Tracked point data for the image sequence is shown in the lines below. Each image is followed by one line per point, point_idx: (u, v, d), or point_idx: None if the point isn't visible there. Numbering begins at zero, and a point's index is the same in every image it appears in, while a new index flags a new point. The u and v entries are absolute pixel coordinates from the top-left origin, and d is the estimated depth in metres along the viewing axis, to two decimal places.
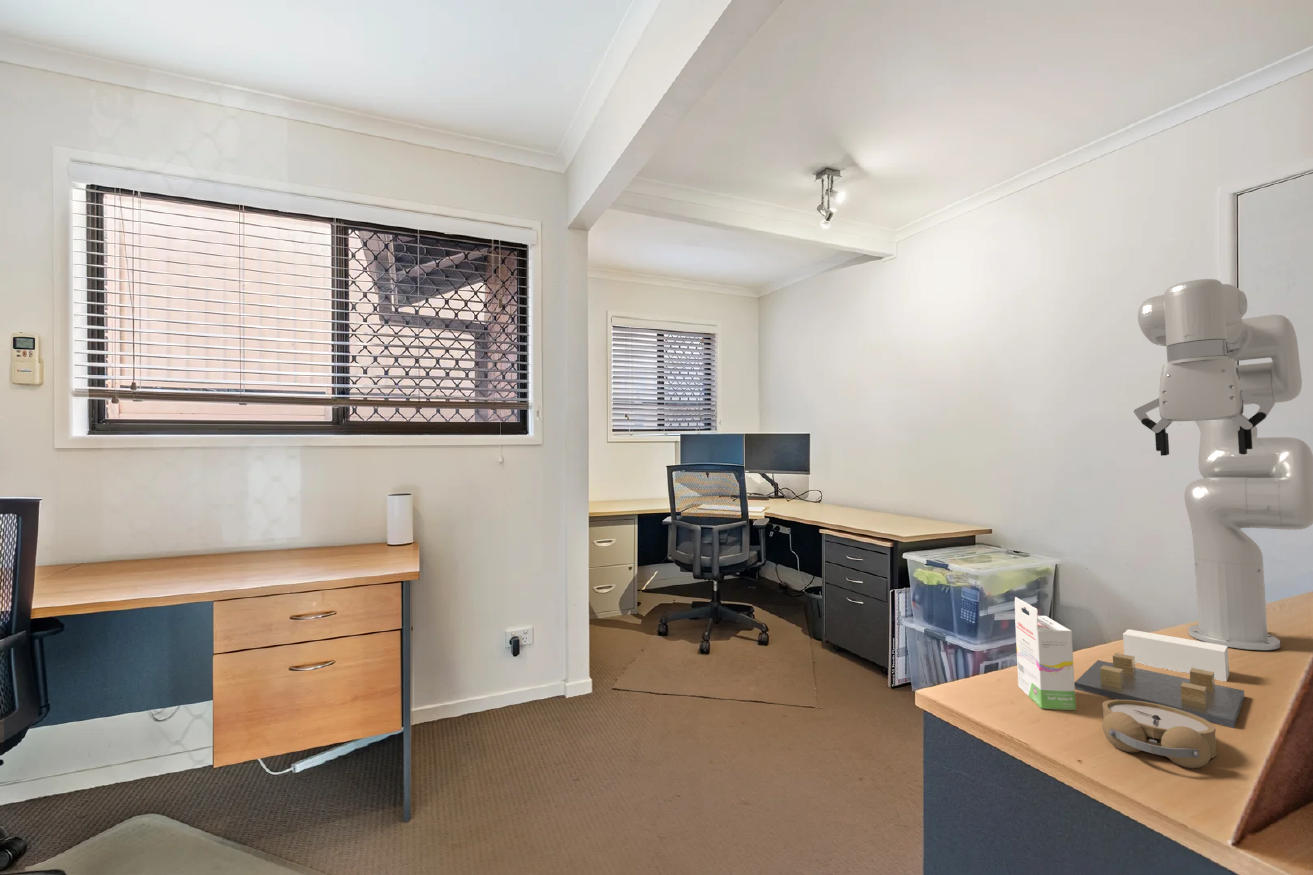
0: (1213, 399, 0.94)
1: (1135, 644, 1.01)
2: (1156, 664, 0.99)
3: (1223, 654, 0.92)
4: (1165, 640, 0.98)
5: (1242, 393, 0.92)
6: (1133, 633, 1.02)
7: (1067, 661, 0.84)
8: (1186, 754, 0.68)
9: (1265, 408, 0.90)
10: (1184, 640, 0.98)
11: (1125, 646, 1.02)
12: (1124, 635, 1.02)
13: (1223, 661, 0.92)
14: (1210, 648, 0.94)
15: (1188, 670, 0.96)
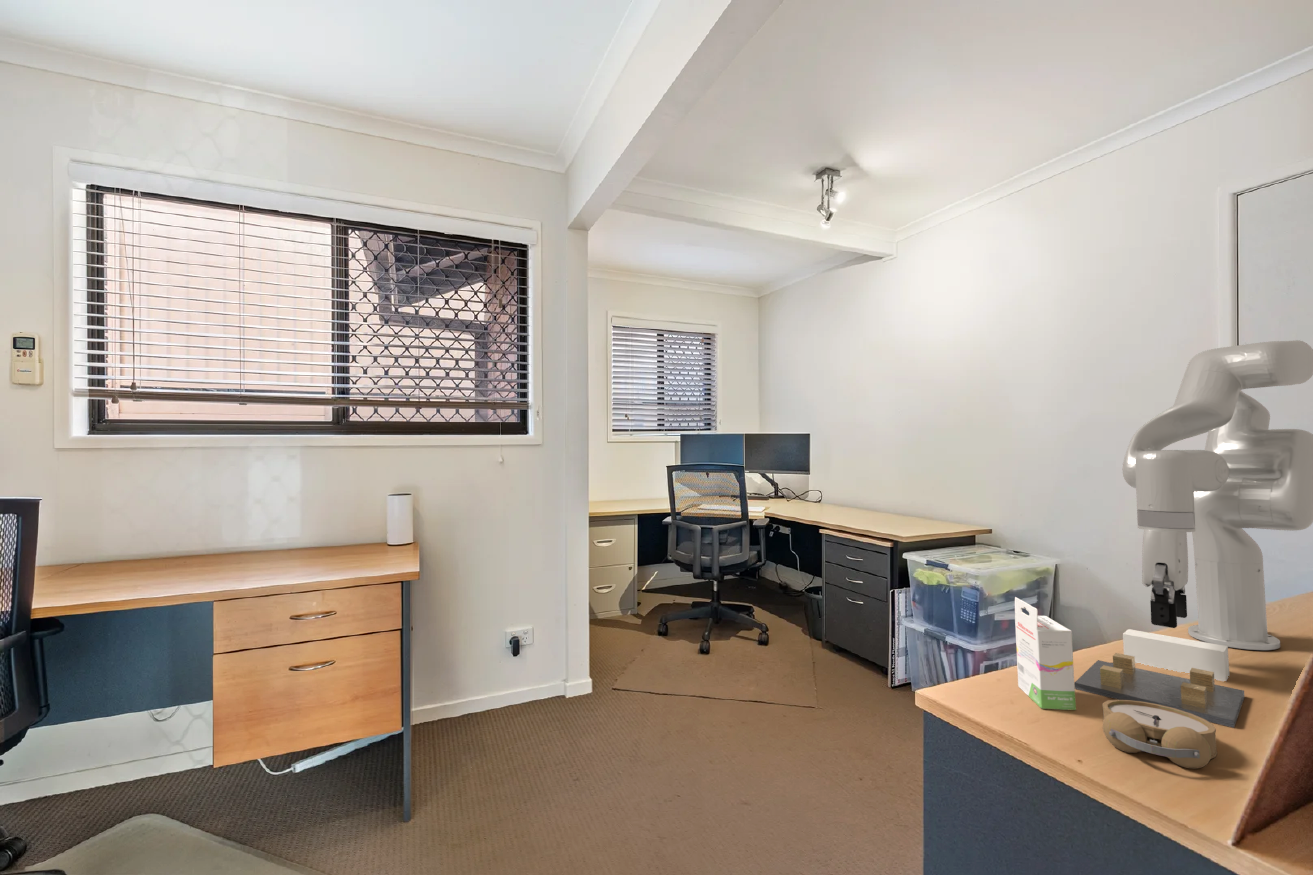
0: (1187, 568, 0.98)
1: (1135, 643, 1.01)
2: (1156, 664, 0.99)
3: (1223, 654, 0.92)
4: (1165, 640, 0.98)
5: None
6: (1133, 633, 1.02)
7: (1067, 661, 0.84)
8: (1187, 754, 0.67)
9: None
10: (1184, 640, 0.98)
11: (1125, 646, 1.02)
12: (1124, 635, 1.02)
13: (1223, 661, 0.92)
14: (1210, 648, 0.94)
15: (1188, 670, 0.96)
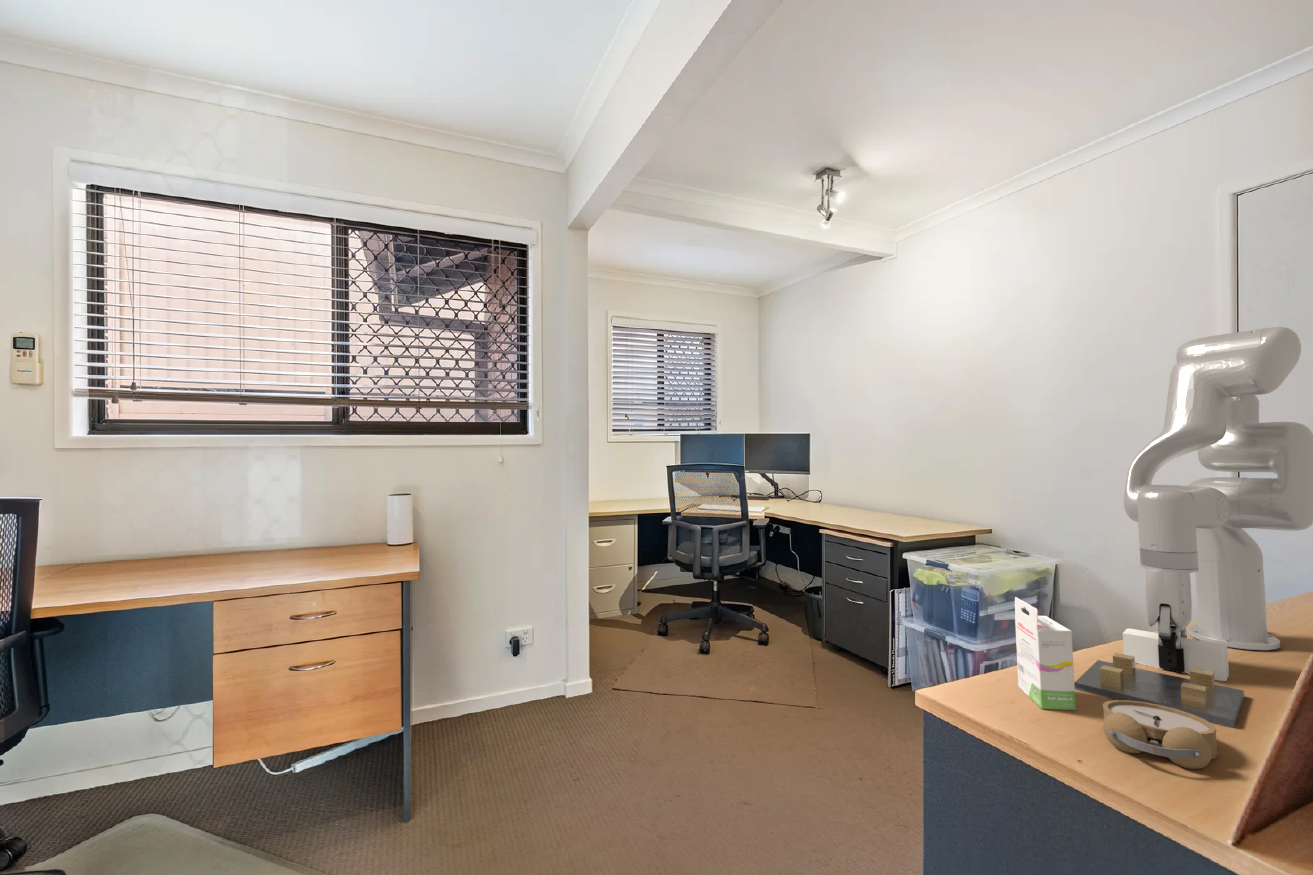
0: (1191, 606, 0.98)
1: (1135, 642, 1.01)
2: (1156, 663, 0.99)
3: (1223, 653, 0.92)
4: None
5: None
6: (1133, 632, 1.02)
7: (1068, 661, 0.84)
8: (1188, 755, 0.67)
9: None
10: (1184, 639, 0.98)
11: (1125, 645, 1.02)
12: (1124, 634, 1.02)
13: (1223, 660, 0.92)
14: (1210, 647, 0.94)
15: (1188, 669, 0.96)
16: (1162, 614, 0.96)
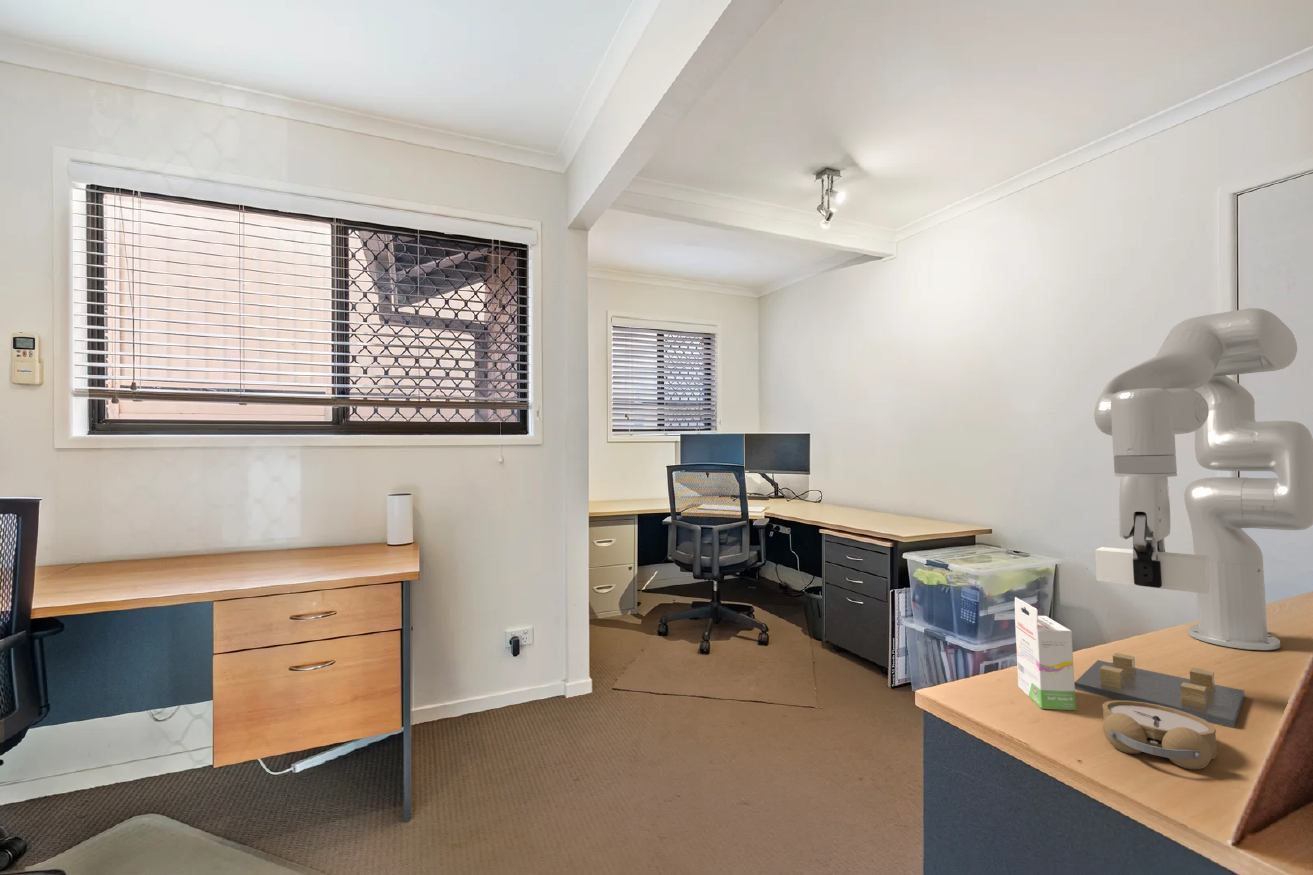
0: (1169, 517, 0.89)
1: (1108, 559, 0.92)
2: (1130, 580, 0.90)
3: (1203, 562, 0.83)
4: None
5: None
6: (1106, 549, 0.93)
7: (1067, 661, 0.84)
8: (1187, 755, 0.67)
9: None
10: (1161, 553, 0.89)
11: (1097, 563, 0.93)
12: (1096, 551, 0.93)
13: (1203, 570, 0.83)
14: (1189, 557, 0.85)
15: (1165, 583, 0.86)
16: (1137, 523, 0.87)
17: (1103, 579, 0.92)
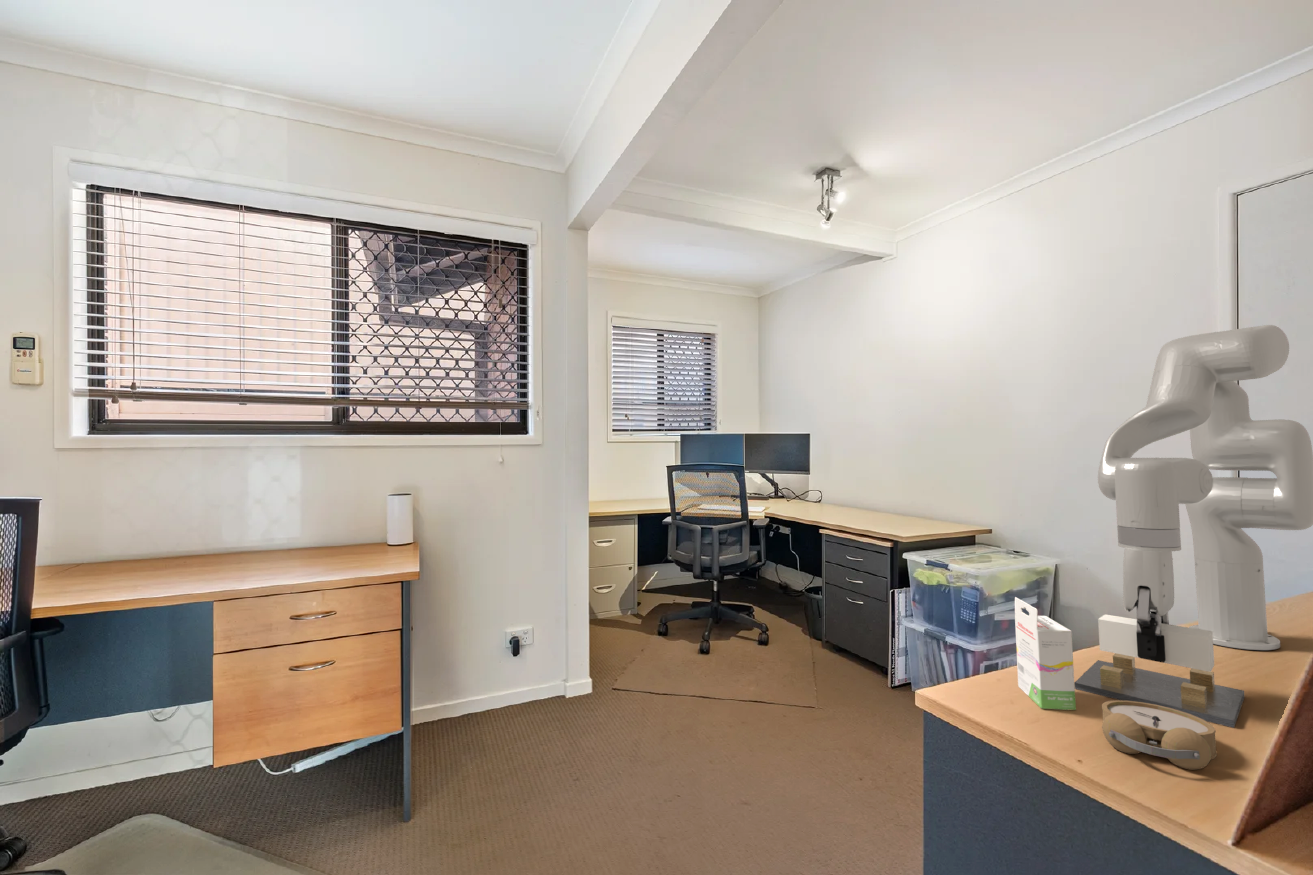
0: (1173, 589, 0.89)
1: (1112, 629, 0.91)
2: (1134, 652, 0.89)
3: (1207, 640, 0.83)
4: None
5: None
6: (1109, 618, 0.93)
7: (1067, 661, 0.84)
8: (1186, 756, 0.67)
9: None
10: (1165, 625, 0.89)
11: (1101, 632, 0.92)
12: (1099, 620, 0.93)
13: (1207, 647, 0.83)
14: (1193, 633, 0.84)
15: (1169, 658, 0.86)
16: (1140, 597, 0.86)
17: (1106, 649, 0.92)
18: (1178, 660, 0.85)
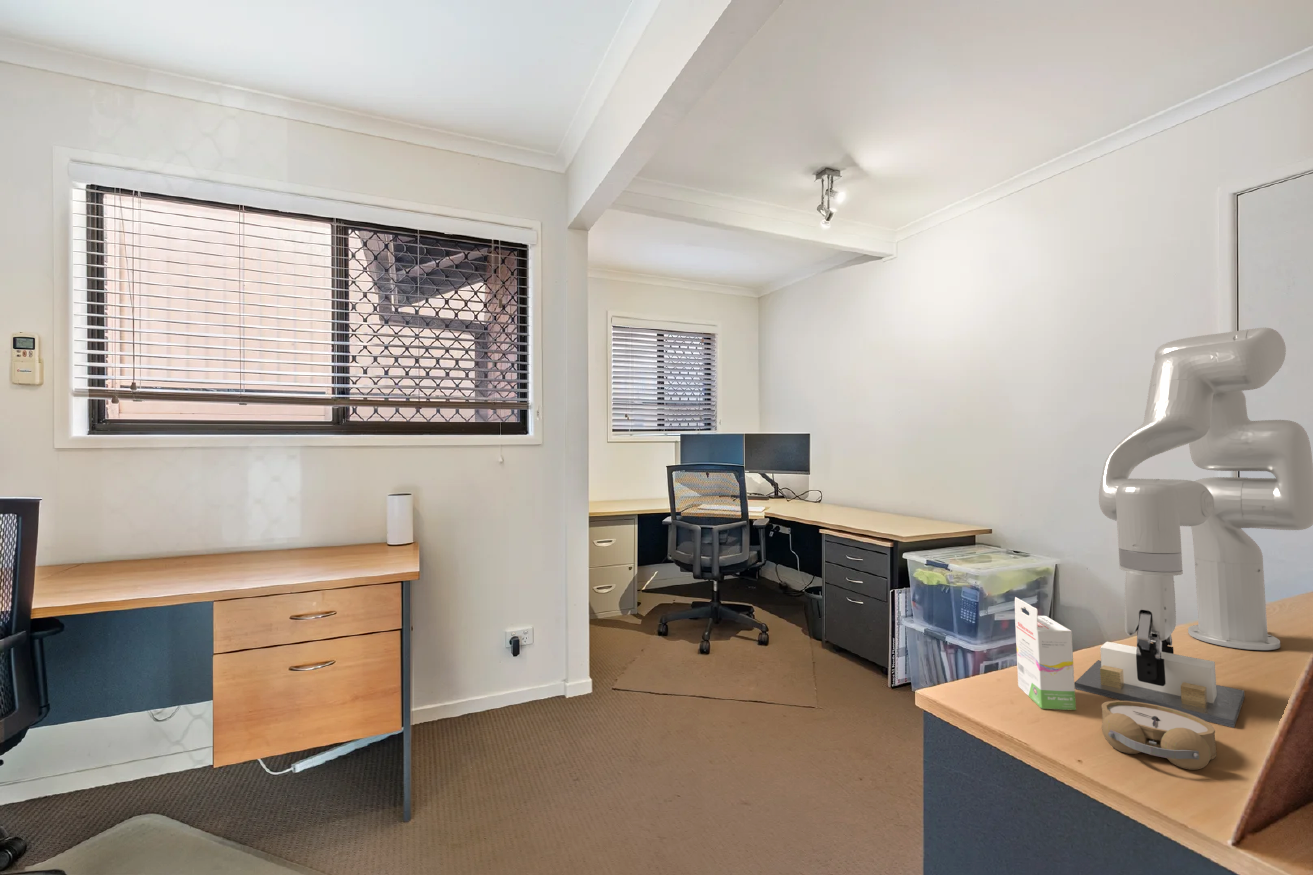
0: (1174, 612, 0.89)
1: (1114, 658, 0.91)
2: (1136, 681, 0.89)
3: (1210, 671, 0.83)
4: None
5: None
6: (1112, 646, 0.93)
7: (1068, 661, 0.84)
8: (1186, 756, 0.67)
9: None
10: (1167, 654, 0.88)
11: (1103, 661, 0.92)
12: (1102, 648, 0.92)
13: (1210, 679, 0.83)
14: (1195, 664, 0.84)
15: (1171, 688, 0.86)
16: None
17: None
18: None
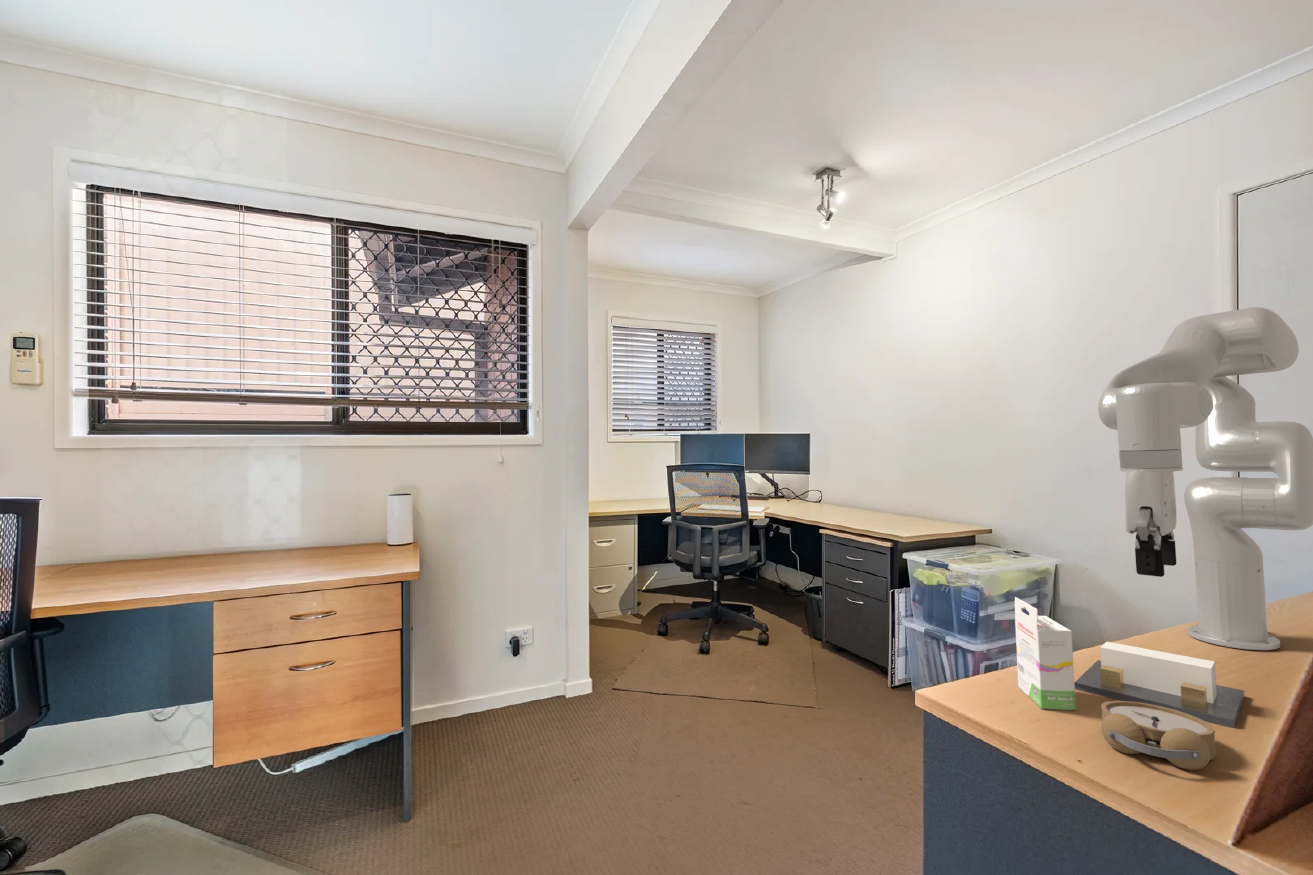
0: (1175, 511, 0.90)
1: (1114, 658, 0.91)
2: (1136, 681, 0.89)
3: (1210, 671, 0.83)
4: (1146, 654, 0.89)
5: None
6: (1112, 646, 0.93)
7: (1068, 661, 0.84)
8: (1186, 756, 0.67)
9: None
10: (1167, 654, 0.88)
11: (1103, 661, 0.92)
12: (1102, 648, 0.92)
13: (1210, 679, 0.83)
14: (1195, 664, 0.84)
15: (1171, 688, 0.86)
16: None
17: None
18: None
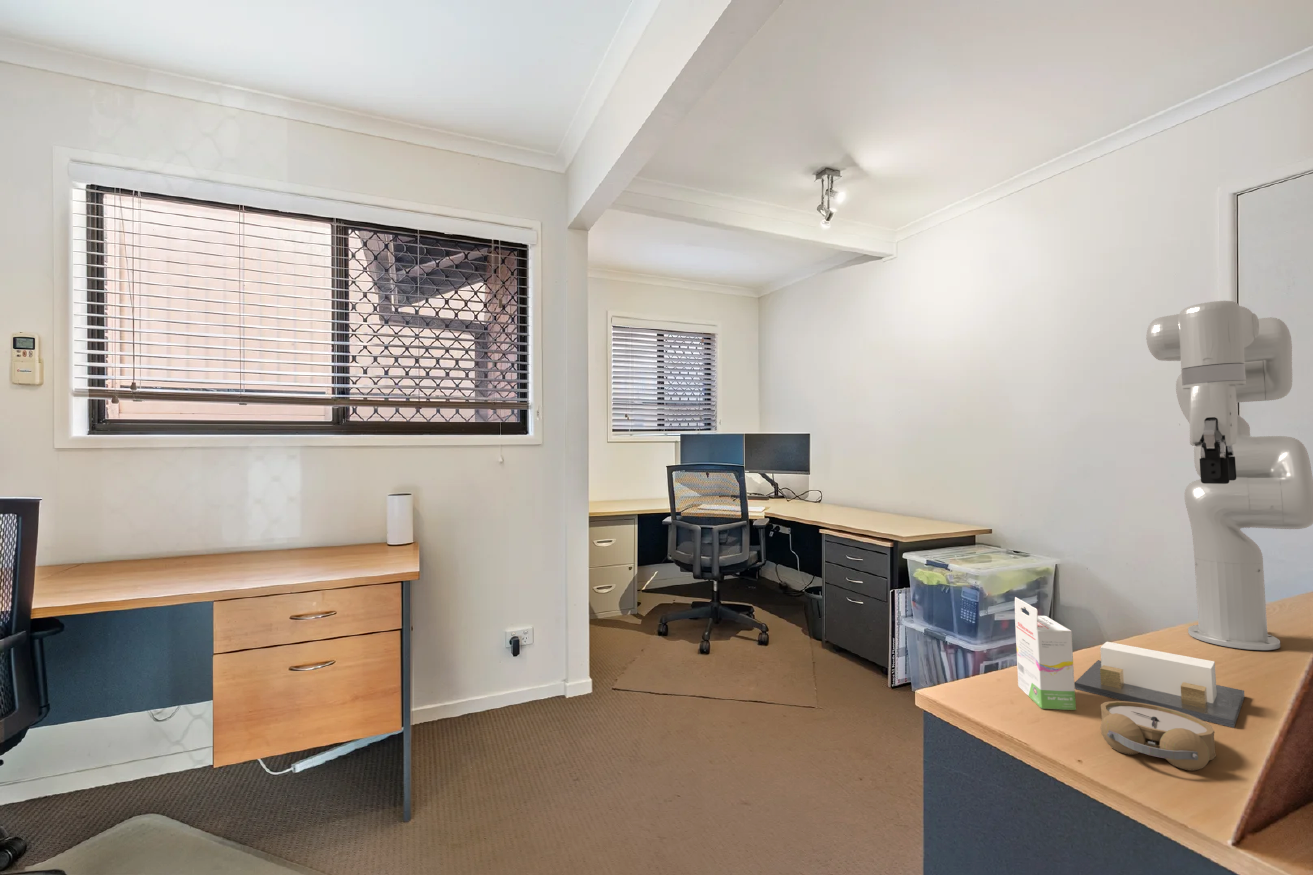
0: None
1: (1114, 658, 0.91)
2: (1136, 681, 0.89)
3: (1210, 671, 0.83)
4: (1146, 654, 0.89)
5: None
6: (1112, 646, 0.93)
7: (1067, 661, 0.84)
8: (1185, 756, 0.67)
9: None
10: (1167, 654, 0.88)
11: (1103, 661, 0.92)
12: (1102, 648, 0.92)
13: (1210, 679, 0.83)
14: (1195, 664, 0.84)
15: (1171, 688, 0.86)
16: None
17: None
18: None
